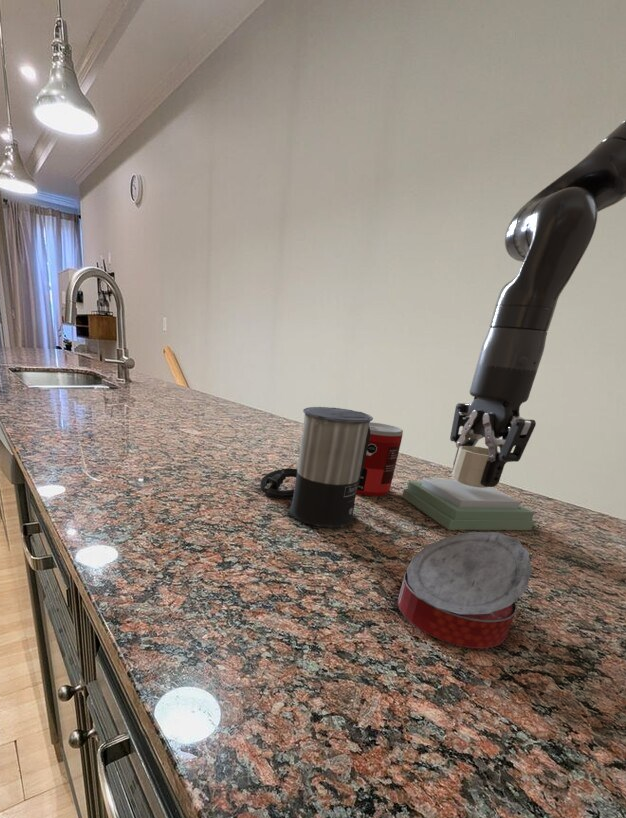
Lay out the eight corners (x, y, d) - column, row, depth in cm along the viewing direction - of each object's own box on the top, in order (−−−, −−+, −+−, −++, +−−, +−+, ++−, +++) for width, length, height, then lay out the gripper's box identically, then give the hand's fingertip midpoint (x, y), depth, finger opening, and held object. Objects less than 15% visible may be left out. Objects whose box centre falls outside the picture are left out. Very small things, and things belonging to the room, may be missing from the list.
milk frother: (346, 535, 59) (369, 423, 53) (236, 509, 64) (246, 404, 58) (361, 502, 71) (381, 408, 65) (268, 483, 76) (278, 394, 70)
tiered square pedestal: (473, 488, 75) (476, 479, 75) (517, 511, 66) (521, 501, 66) (420, 486, 73) (422, 478, 73) (458, 510, 64) (461, 500, 64)
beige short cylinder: (476, 476, 72) (485, 446, 70) (502, 489, 67) (513, 456, 65) (443, 475, 71) (451, 444, 69) (467, 488, 65) (477, 455, 64)
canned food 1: (336, 481, 80) (347, 420, 76) (378, 483, 81) (391, 423, 77) (350, 496, 73) (363, 430, 69) (396, 498, 74) (411, 433, 70)
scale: (474, 499, 78) (479, 482, 77) (531, 530, 66) (538, 512, 65) (401, 497, 75) (405, 480, 74) (447, 530, 63) (453, 511, 62)
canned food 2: (491, 683, 42) (554, 639, 34) (383, 647, 43) (419, 597, 36) (490, 584, 48) (542, 528, 41) (396, 556, 50) (429, 498, 42)
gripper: (573, 372, 56) (529, 495, 63) (494, 362, 69) (464, 465, 76) (523, 367, 55) (483, 494, 61) (452, 358, 68) (425, 464, 74)
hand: (473, 478), depth 68 cm, fingers closed on beige short cylinder, 6 cm apart
